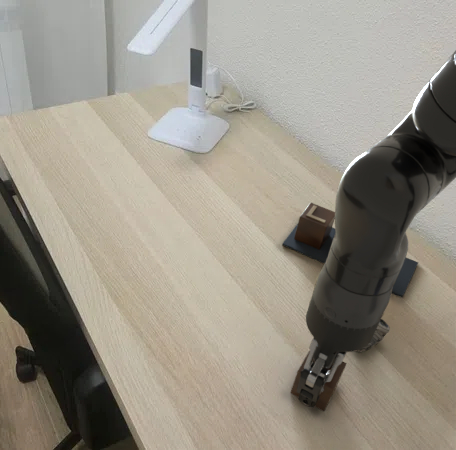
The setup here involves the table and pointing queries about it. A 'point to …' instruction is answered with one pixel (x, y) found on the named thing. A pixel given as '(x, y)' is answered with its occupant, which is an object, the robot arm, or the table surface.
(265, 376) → the table surface
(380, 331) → the silver wristwatch
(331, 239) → the mat
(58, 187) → the table surface
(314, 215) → the tile
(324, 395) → the tile
